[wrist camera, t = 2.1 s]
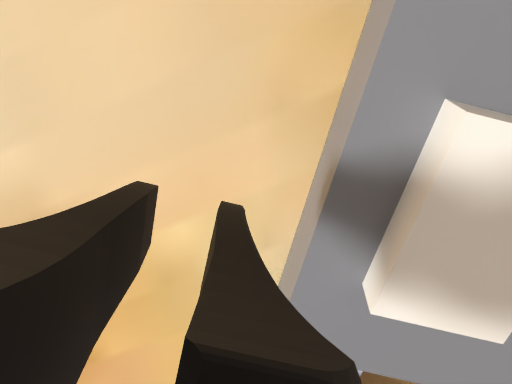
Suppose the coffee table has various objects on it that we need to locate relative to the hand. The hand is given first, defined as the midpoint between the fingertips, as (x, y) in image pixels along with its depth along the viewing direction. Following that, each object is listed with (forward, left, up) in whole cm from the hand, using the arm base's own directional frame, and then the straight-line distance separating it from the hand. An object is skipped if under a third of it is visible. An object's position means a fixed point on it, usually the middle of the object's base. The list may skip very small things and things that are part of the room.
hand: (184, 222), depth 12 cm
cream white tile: (0, -11, -5) cm, 12 cm away
